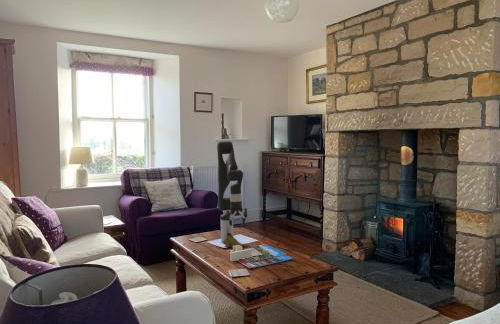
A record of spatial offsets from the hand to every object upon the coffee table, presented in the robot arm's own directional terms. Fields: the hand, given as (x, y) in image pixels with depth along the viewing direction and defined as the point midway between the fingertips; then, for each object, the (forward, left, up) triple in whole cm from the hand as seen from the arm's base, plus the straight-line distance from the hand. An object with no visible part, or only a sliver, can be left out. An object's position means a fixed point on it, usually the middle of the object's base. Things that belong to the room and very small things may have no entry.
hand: (237, 224), depth 234 cm
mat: (0, +11, -21) cm, 23 cm away
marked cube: (0, 0, -21) cm, 21 cm away
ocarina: (-16, +3, -21) cm, 26 cm away
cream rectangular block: (+8, -1, -21) cm, 22 cm away
